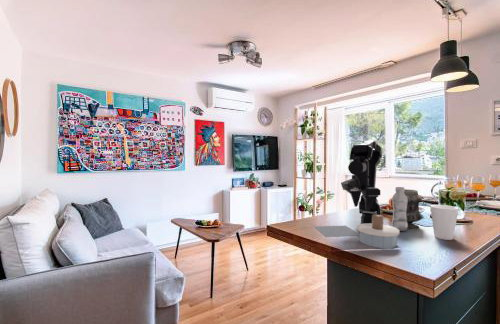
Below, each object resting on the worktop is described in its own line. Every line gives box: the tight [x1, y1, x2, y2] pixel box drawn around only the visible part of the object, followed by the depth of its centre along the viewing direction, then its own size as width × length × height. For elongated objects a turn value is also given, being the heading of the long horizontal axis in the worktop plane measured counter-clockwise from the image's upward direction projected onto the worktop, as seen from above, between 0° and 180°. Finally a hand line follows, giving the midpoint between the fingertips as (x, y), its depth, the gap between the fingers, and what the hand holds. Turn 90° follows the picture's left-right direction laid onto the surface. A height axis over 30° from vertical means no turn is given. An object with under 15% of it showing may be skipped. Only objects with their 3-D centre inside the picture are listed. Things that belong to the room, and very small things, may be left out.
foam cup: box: [429, 204, 459, 241], centre depth 108 cm, size 10×9×13 cm
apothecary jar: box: [404, 188, 423, 230], centre depth 125 cm, size 12×12×18 cm
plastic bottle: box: [391, 186, 408, 232], centre depth 118 cm, size 6×7×20 cm
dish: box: [359, 231, 398, 250], centre depth 101 cm, size 13×13×5 cm
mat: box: [313, 225, 360, 238], centre depth 116 cm, size 16×16×1 cm
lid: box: [356, 214, 400, 237], centre depth 101 cm, size 15×15×6 cm
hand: (361, 208), depth 111 cm, fingers open, 9 cm apart
